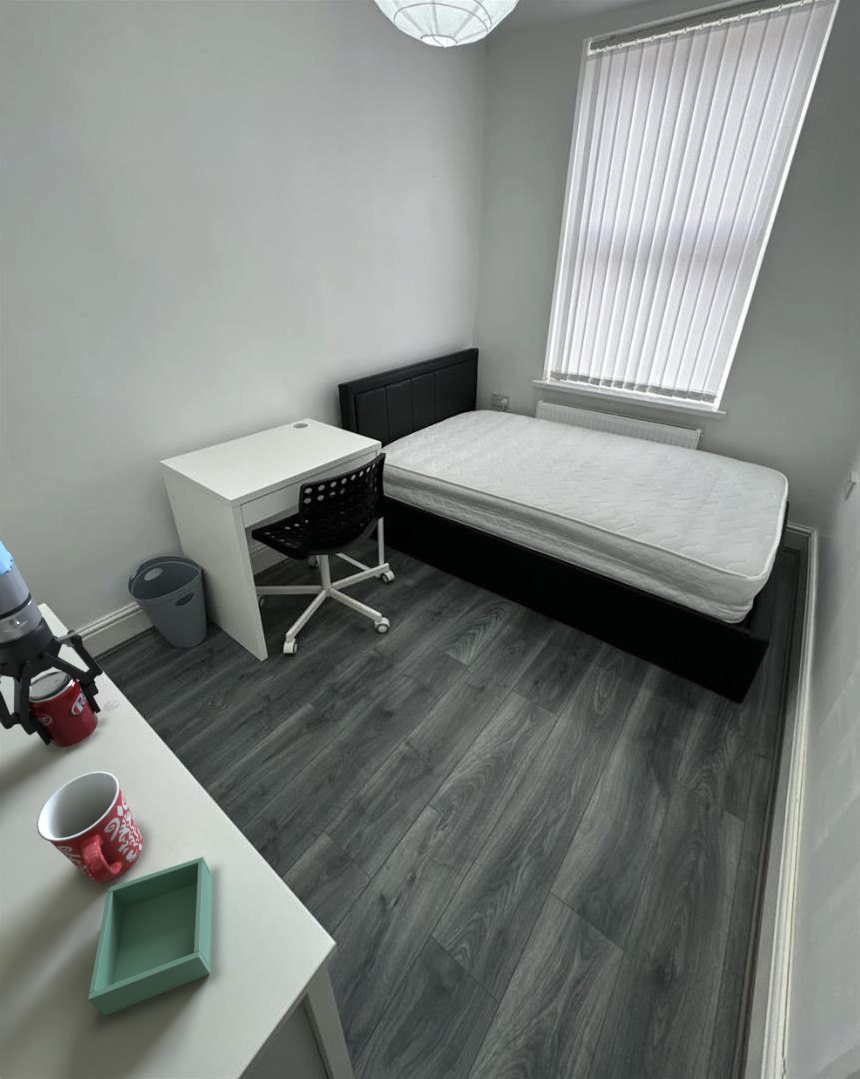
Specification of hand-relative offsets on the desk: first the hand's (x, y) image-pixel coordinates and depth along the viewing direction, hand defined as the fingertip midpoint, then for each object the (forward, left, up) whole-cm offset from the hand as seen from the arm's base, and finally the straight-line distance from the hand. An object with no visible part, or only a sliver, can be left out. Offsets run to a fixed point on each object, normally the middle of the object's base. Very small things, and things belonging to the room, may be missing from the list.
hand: (71, 723), depth 84 cm
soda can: (0, 0, -2) cm, 2 cm away
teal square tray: (+38, +18, -2) cm, 42 cm away
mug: (+27, +11, -2) cm, 29 cm away
